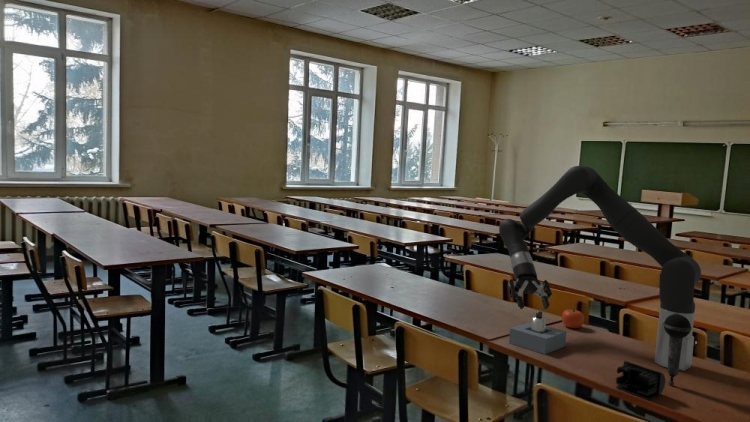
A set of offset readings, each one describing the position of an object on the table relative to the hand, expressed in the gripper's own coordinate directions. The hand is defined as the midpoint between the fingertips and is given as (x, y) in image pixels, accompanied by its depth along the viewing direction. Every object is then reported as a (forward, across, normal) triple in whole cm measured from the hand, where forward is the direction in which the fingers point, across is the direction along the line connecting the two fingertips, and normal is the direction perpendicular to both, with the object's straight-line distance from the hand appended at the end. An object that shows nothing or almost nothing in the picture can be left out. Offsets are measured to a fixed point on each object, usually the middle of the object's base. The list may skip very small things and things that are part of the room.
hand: (534, 308), depth 183 cm
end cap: (+37, +12, -20) cm, 44 cm away
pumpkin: (-3, +23, +19) cm, 30 cm away
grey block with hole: (+11, 0, +5) cm, 12 cm away
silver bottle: (+10, 0, +6) cm, 12 cm away
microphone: (+34, +24, -18) cm, 46 cm away
